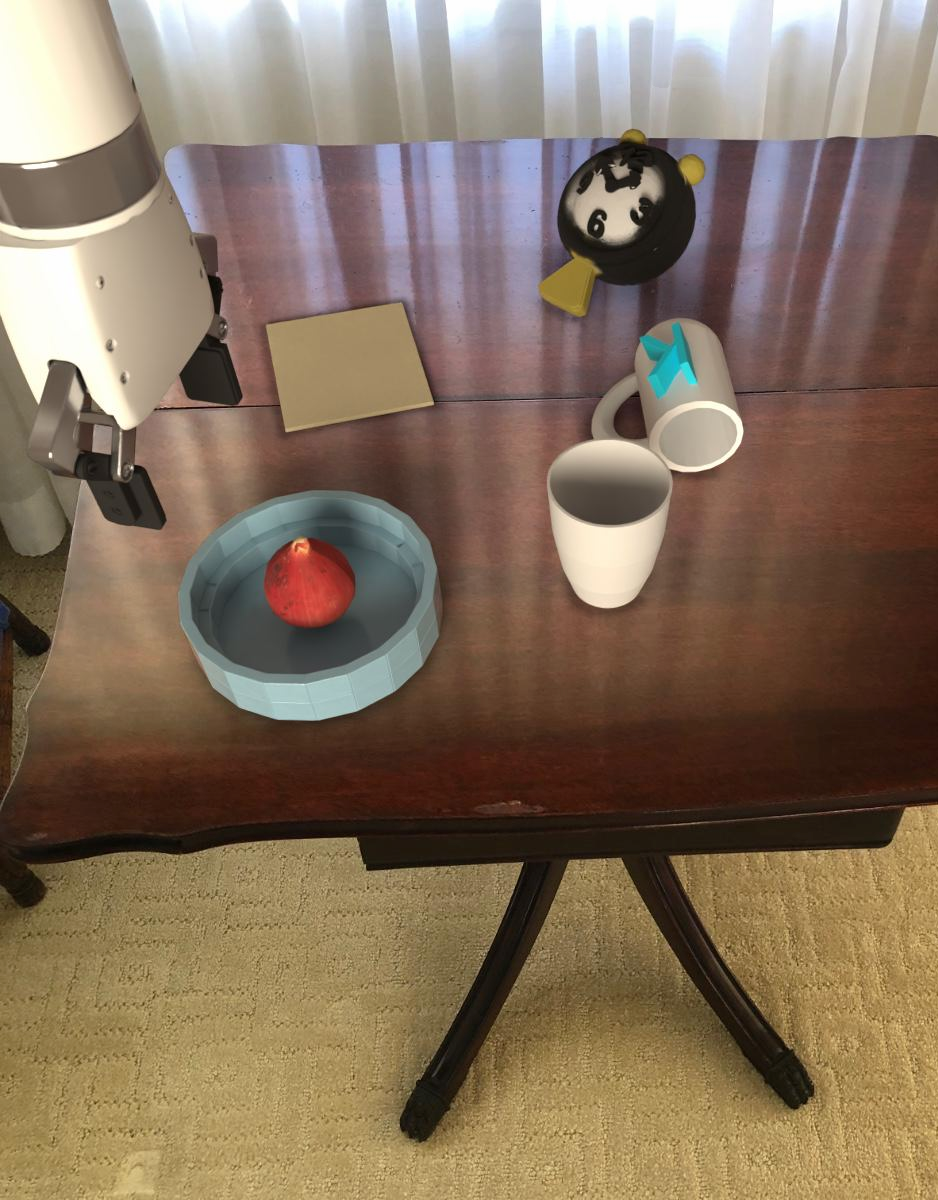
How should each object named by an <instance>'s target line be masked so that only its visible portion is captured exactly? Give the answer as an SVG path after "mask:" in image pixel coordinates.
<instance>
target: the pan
mask: <svg viewBox="0 0 938 1200" xmlns="http://www.w3.org/2000/svg"><path fill="white" fill-rule="evenodd" d="M299 536H302V537H305V538H315V539H318V540H321V541H324V542H328V543H329V544H331V545H333V546H334V547H335V548H337V549H338V550H340V551H341V552H342V553H343V554H344V555H345V556H346V558H347V560H348V562H349V564H350V566H351V568H352V570H353V572H354V574H355V582H356V585H355V597H354V598H353V600H352V602H351V604H350V606H349V607H348V609H347V611H346V612H345V614H344V615H342V616H341V617H340V618H339V619H337V620H336V621H335V622H333V623H330V624H327V625H325V626H322V627H315V628H303V627H298V626H293V625H290V624H288V623H286V622H285V621H283V620H282V619H281V618H279V617H278V616H277V615H275V614H274V613H273V611H272V609H271V608H270V606H269V603H268V601H267V598H266V596H265V593H264V585H263V584H264V579H265V574H266V568H267V564H268V562H269V560H270V559H271V558H272V556H273V555H274V554H275V552H276V551H277V550H278V549H280V548H281V547H282V546H283V545H285V544H287V543H288V542H290V541H292V540H295V539H297V537H299ZM441 590H442V589H441V584H440V578H439V570H438V566H437V562H436V558H435V555H434V552H433V548H432V544H431V541H430V539H429V538H428V536H426V534H425V533H424V532H423V530H422V529H421V528H420V527H419V526H418V524H417V523H416V521H415V520H414V519H413V518H412V517H411V516H410V515H408V514H407V513H405V512H403V511H402V510H400V509H398V508H397V507H395V506H394V505H392V504H391V503H388V502H387V501H385V500H383V499H381V498H377V497H375V496H370V495H367V494H362V493H359V492H356V491H351V490H330V489H329V490H327V489H326V490H324V489H321V490H320V489H312V490H306V491H301V492H296V493H290V494H286V495H281V496H276V497H272V498H270V499H268V500H265V501H263V502H261V503H258V504H255V505H254V506H252V507H251V506H250V507H249V508H247V509H244V510H242V511H240V512H238V513H237V514H235V515H234V516H233V517H231V518H230V519H229V520H227V521H226V522H225V523H223V524H222V525H220V526H219V527H218V528H217V529H215V530H214V531H212V532H211V533H210V534H209V535H208V536H206V539H204V540H203V542H202V544H200V546H199V547H198V549H197V550H196V551H195V552H194V554H193V555H192V557H191V558H190V559H189V560H188V562H187V564H186V568H185V570H184V573H183V576H182V579H181V582H180V584H179V588H178V591H177V601H178V613H179V614H178V615H179V624H180V626H181V629H182V631H183V633H184V635H185V638H186V639H187V641H188V645H189V647H190V649H191V650H192V653H193V655H194V657H195V659H196V661H197V663H198V665H199V666H200V668H201V671H202V672H203V673H204V675H205V677H206V679H207V681H208V682H209V684H210V686H211V687H212V689H214V690H215V691H217V693H219V694H220V695H222V696H223V697H224V698H225V699H227V700H228V701H230V702H231V703H233V704H234V705H235V706H236V707H237V708H239V709H243V710H245V711H248V712H251V713H254V714H257V715H260V716H263V717H267V718H269V719H273V720H276V721H277V720H278V721H312V722H313V721H314V722H315V721H322V720H326V719H332V718H334V717H339V716H343V715H347V714H351V713H356V712H359V711H361V710H363V709H365V708H367V707H369V706H370V705H372V704H374V703H377V702H378V701H380V700H382V699H384V698H386V697H388V696H389V695H392V694H393V693H394V692H396V691H398V689H400V688H401V687H402V686H403V685H404V684H405V683H406V682H407V681H408V680H409V679H410V678H411V677H413V676H414V674H416V673H417V672H418V671H419V670H420V669H421V668H422V667H423V666H424V664H425V662H426V660H427V659H428V656H429V655H430V653H431V651H432V649H433V648H434V646H435V644H436V642H437V640H438V638H439V637H440V631H441V624H442V618H443V617H442V616H443V609H444V604H443V597H442V596H443V595H442V591H441Z"/></svg>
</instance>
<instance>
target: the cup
mask: <svg viewBox="0 0 938 1200" xmlns="http://www.w3.org/2000/svg"><path fill="white" fill-rule="evenodd" d="M625 439H626V438H625ZM625 439H618V438H600V439H594V438H593V439H589V440H588V439H587V440H585V441H584V440H583V441H582V442H579V443H576V444H574V445H572V446H570V447H568V448H567V449H565V450H564V451H563V452H562V453H560V454H559V455H558V456H557V457H556V458H555V459H554V461H553V462H552V463H551V465H550V467H549V469H548V472H547V476H546V490H547V499H548V506H549V514H550V523H551V531H552V535H553V538H554V542H555V546H556V548H557V553H558V557H559V560H560V561H559V562H560V565H561V568H562V570H563V572H564V574H565V576H566V577H567V580H568V582H569V583H570V586H571V587H572V589H573V591H574V593H575V595H576V596H577V597H578V598H579V599H580V600H582V601H583V602H584V603H586V604H588V605H589V606H593V607H595V608H602V609H614V608H619V607H622V606H626V605H627V604H630V603H631V602H632V601H634V599H635V598H636V597H637V596H638V595H639V593H640V592H641V590H642V588H643V587H644V586H645V583H646V582H647V580H648V579H649V577H650V575H651V574H652V571H653V569H654V567H655V564H656V560H657V557H658V554H659V553H660V549H661V545H662V543H663V539H664V536H665V533H666V527H667V522H668V516H669V510H670V504H671V498H672V493H673V488H674V487H673V486H674V481H673V475H672V472H671V469H669V467H668V466H667V464H666V463H665V461H664V460H663V459H662V458H661V457H660V456H659V455H658V454H657V453H655V452H654V451H652V450H651V449H649V448H648V447H646V446H644V445H641V444H639V443H636V442H633V441H629V440H625Z"/></svg>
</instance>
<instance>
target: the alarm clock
mask: <svg viewBox="0 0 938 1200" xmlns="http://www.w3.org/2000/svg"><path fill="white" fill-rule="evenodd" d="M706 171H707V167H706V164H705V161H704V160H703V159H702V158H701V157H700V156H698V155H697V154H694V153H688V154H684V155H683V156H682V157H680V158H679V160H678V159H676V158H675V157H674V156H673V155H672V154H670V153H668V152H667V151H666V150H663V149H661V148H659V147H656V146H652V145H649V144H648V138H647V136H646V135H645V134H644V132H643V131H642V130H640V129H638V128H630V129H627V130H625V131H624V132H623V134H621V137H620V138H619V140H618V144H615V145H613V146H609V147H606V148H604V149H602V150H600V151H597V152H596V153H595V154H594V155H592V156H590V157H589V158H588V159H585V161H584V162H583V163H582V164H580V166H579V167H577V169H576V170H575V171H574V172H573V173H572V174H571V176H570V177H569V179H568V181H567V183H566V184H565V186H564V188H563V190H562V193H561V196H560V198H559V201H558V202H559V203H558V207H557V216H556V219H557V220H556V225H557V226H556V227H557V231H558V236H559V240H560V242H561V244H562V246H563V248H564V249H565V250H566V252H567V254H568V255H569V256H570V258H571V260H570V261H568V262H567V263H566V264H564V265H563V266H561V267H560V268H559V269H557V270H556V271H555V272H553V273H552V274H550V275H549V276H548V277H546V278H545V279H544V280H542V281H541V282H540V283H538V285H537V290H538V292H539V294H540V296H541V297H542V299H544V300H545V301H546V302H548V303H550V304H551V305H553V306H555V307H557V308H559V309H561V310H563V311H565V312H567V313H569V314H571V315H573V316H576V317H583V316H586V315H587V314H588V310H589V307H590V302H591V297H592V294H593V290H594V289H593V288H594V285H595V280H596V279H597V280H599V281H600V282H601V281H602V282H604V283H606V284H610V285H616V286H636V285H641V284H644V283H647V282H650V281H652V280H654V279H657V278H658V277H660V276H662V275H664V274H665V273H666V272H668V271H669V270H670V269H671V268H672V267H673V266H674V265H675V264H676V263H677V262H678V261H679V260H680V259H681V258H682V256H683V254H684V253H685V252H686V249H687V248H688V246H689V244H690V242H691V240H692V236H693V233H694V230H695V225H696V218H697V205H696V204H697V203H696V195H695V192H694V188H693V187H695V186H697V185H698V184H700V183H701V182H702V180H703V179H704V178H705V175H706Z"/></svg>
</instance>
